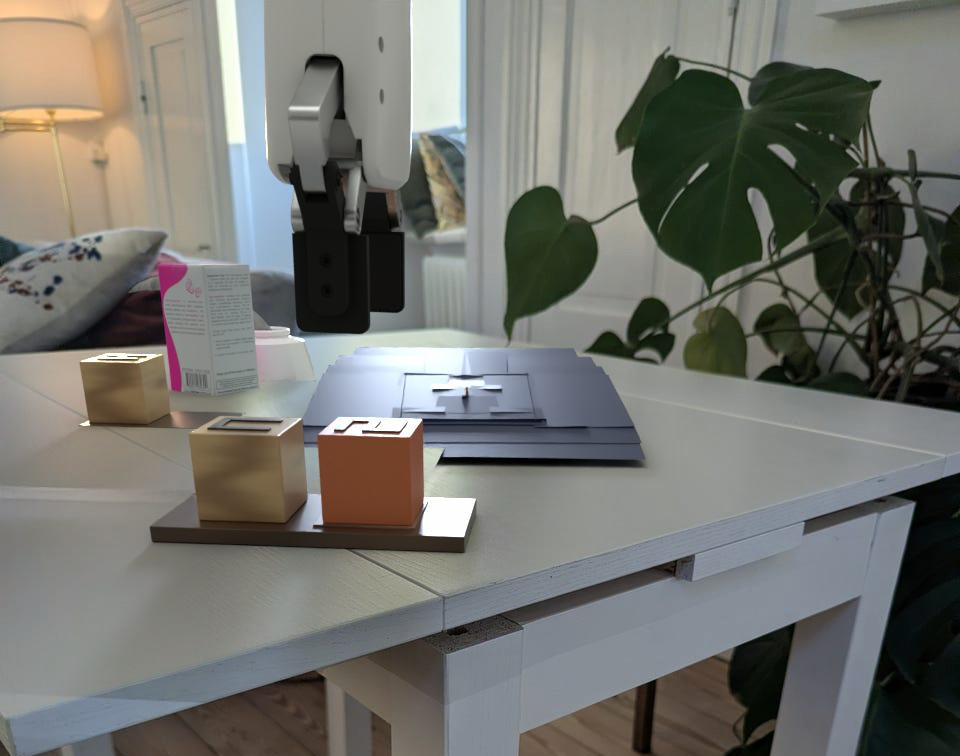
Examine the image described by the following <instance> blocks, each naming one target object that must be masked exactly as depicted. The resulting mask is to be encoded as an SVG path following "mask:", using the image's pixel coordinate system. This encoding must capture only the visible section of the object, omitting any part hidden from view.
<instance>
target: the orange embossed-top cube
mask: <svg viewBox="0 0 960 756" xmlns="http://www.w3.org/2000/svg"><path fill="white" fill-rule="evenodd" d="M317 440H318V448H317V455H318V456H317V457H318V470H319V486H320V494H321V504H322V520H323V523H343V524H374V525H404V526H411V525H412V524H413V522H414V520H415V518H416V516H417V514H418V512H419V510H420V508H421V506H422V504H423V502H424V497H425V471H424V470H425V469H424V467H425V465H424V462H425V461H424V448H423V420H422V419H395V418H355V417H338V418H336V419H335V420H334V421H333V422H332V423H331V424H330V425H328V426H327V427H326V428H325V429H324V430H323V431H321V432H320V433H319V434H318V435H317Z"/></svg>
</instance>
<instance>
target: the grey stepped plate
mask: <svg viewBox="0 0 960 756" xmlns="http://www.w3.org/2000/svg"><path fill="white" fill-rule="evenodd" d="M338 417H355V418H395V419H422V420H423V449H443V450H442V452H441V454H440V456H439V457H440V458H516V459H517V458H519V459H521V458H522V459H523V458H525V459H526V458H527V459H574V460H575V459H576V460H578V459H579V460H582V459H583V460H633V461H635V460H637V461H645V460H647V458H646V455H645V454H644V451H643V448H642V445H641V444H642V440H641V438H640V436H639V434H638V431H637V429H636V425H635V423H634V422H633V420H632V418H631V415H630V414H629V412H628V410H627V408H626V406H625V404H624V402H623V400H622V399H621V396H620V395H619V393H618V391H617V389H616V387H615V385H614V383H613V381H612V380H611V378H610V376H609V374H607V373H606V372H605V370H604V368H603V366H602V365H601V366H600V365H599V366H597V364H596V363H595V361H594V359H593V358H592V357H591V356H578V354H577V352H576V350H575V348H574V347H414V346H413V347H407V346H405V347H404V346H403V347H400V346H399V347H397V346H387V347H386V346H355V348H354V350H353V353H352V355H338V357H337V358H336V361H335V363H334V364H329V365H328V366H327V368H326V369H325V372H324V373H322V376H321V378H320V379H319V382H318V384H317V386H316V388H315V390H314V393H313V395H312V397H311V399H310V401H309V404H308V406H307V408H306V410H305V413H304V415H303V417H302V422H303V436H304V448H315V449H318V440H317V435H318V434H319V433H320V432H321V431H323V430H324V429H325V428H326V427H327V426H328V425H330V424H331V423H332V422H333V421H334V420H335V419H336V418H338Z"/></svg>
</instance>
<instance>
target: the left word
mask: <svg viewBox="0 0 960 756" xmlns="http://www.w3.org/2000/svg"><path fill="white" fill-rule="evenodd" d="M78 364H79V369H80V373H81V374H80V375H81V382H82V388H83V394H84V401H85V406H86V412H87V419H88V420H87V421H85V422H83V423H80V424H78V427H105V428H106V427H109V428H110V427H111V428H112V427H113V428H119V427H120V428H147V429H148V428H149V429H183V430H184V429H185V430H189V429H190V430H196V429H198V428H200V427H201V426H203V425H205V424H207V423H208V422H210V421H212V420H214V419H215V418H217V417H219V416H239V417H243V416H244V415H246V412H234V411H233V412H232V411H231V412H230V411H229V412H228V411H190V410H189V411H188V410H186V411H185V410H171V405H170V404H171V403H170V397H169V389H168V381H167V371H166V365H165V364H166V363H165V357H164V354H155V353H154V354H153V353H152V354H149V353H148V354H147V353H104V354H101V355H97V356H94V357H91V358H87V359H82V360H80V361H79V363H78Z"/></svg>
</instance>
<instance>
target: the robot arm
mask: <svg viewBox="0 0 960 756" xmlns="http://www.w3.org/2000/svg"><path fill="white" fill-rule="evenodd" d="M412 8H413V0H263V38H264V39H263V42H264V43H263V46H264V47H263V48H264V50H263V51H264V53H263V54H264V56H263V57H264V102H265V103H264V104H265V105H264V106H265V109H264V111H265V142H266V144H265V146H266V161H267V165H268V168H269V171H270V172H271V173H272V175H273V176H274V177H275V178H276V179H277V180H278V181H279V182H281V183H282V184H284V185H290V186H292V187H293V193H292V198H291V204H290V205H291V206H290V223H291V228H292V231H293V232H292V233H291V241H292V260H293V261H292V264H293V281H294V305H295V323H296V326H297V328H298V329H299V330H300V331H301V332H303V333H316V334H317V333H318V334H319V333H320V334H324V333H325V334H341V335H342V334H343V335H363V334H365V333H366V332H368V331H369V330H370V328H371V313H383V314H384V313H385V314H386V313H387V314H399V313H401V312H403V311H404V309H405V306H406V265H405V264H406V255H405V254H406V245H405V244H406V243H405V242H406V233H405V231H403V228H404V227H403V226H404V213H403V204H402V197H401V188H402V187H403V186H404V185H405V184H406V183H407V182H408V181H409V178H410V174H411V162H412V161H411V160H412V139H413V138H412V132H413V15H412V13H413V10H412Z"/></svg>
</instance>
